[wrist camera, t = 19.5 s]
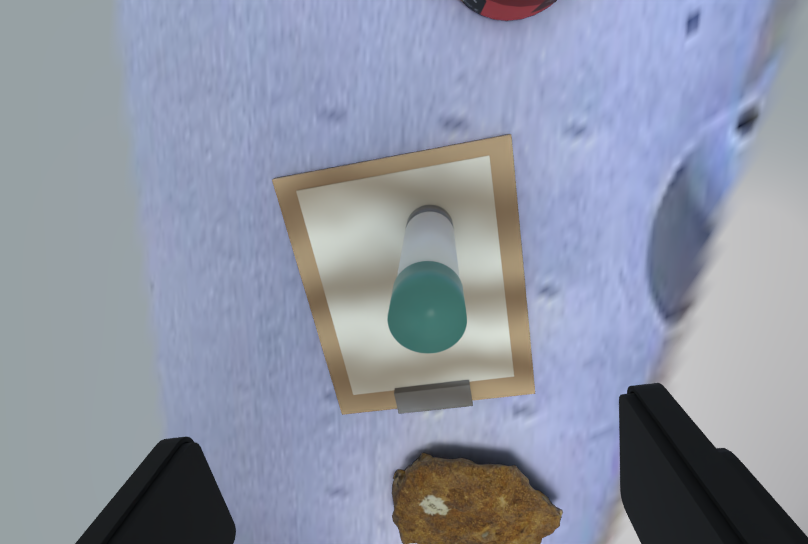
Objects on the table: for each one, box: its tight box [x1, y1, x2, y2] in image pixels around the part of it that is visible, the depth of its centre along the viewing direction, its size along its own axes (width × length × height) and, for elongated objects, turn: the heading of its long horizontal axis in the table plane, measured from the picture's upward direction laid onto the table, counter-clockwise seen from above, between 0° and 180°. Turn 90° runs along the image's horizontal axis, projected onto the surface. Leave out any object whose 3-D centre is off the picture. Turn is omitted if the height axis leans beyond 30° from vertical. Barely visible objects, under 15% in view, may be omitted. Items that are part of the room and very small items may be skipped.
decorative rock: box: [392, 453, 563, 544], centre depth 38 cm, size 11×4×15 cm
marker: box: [387, 205, 467, 354], centre depth 24 cm, size 3×3×12 cm
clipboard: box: [272, 134, 535, 415], centre depth 31 cm, size 20×16×2 cm
